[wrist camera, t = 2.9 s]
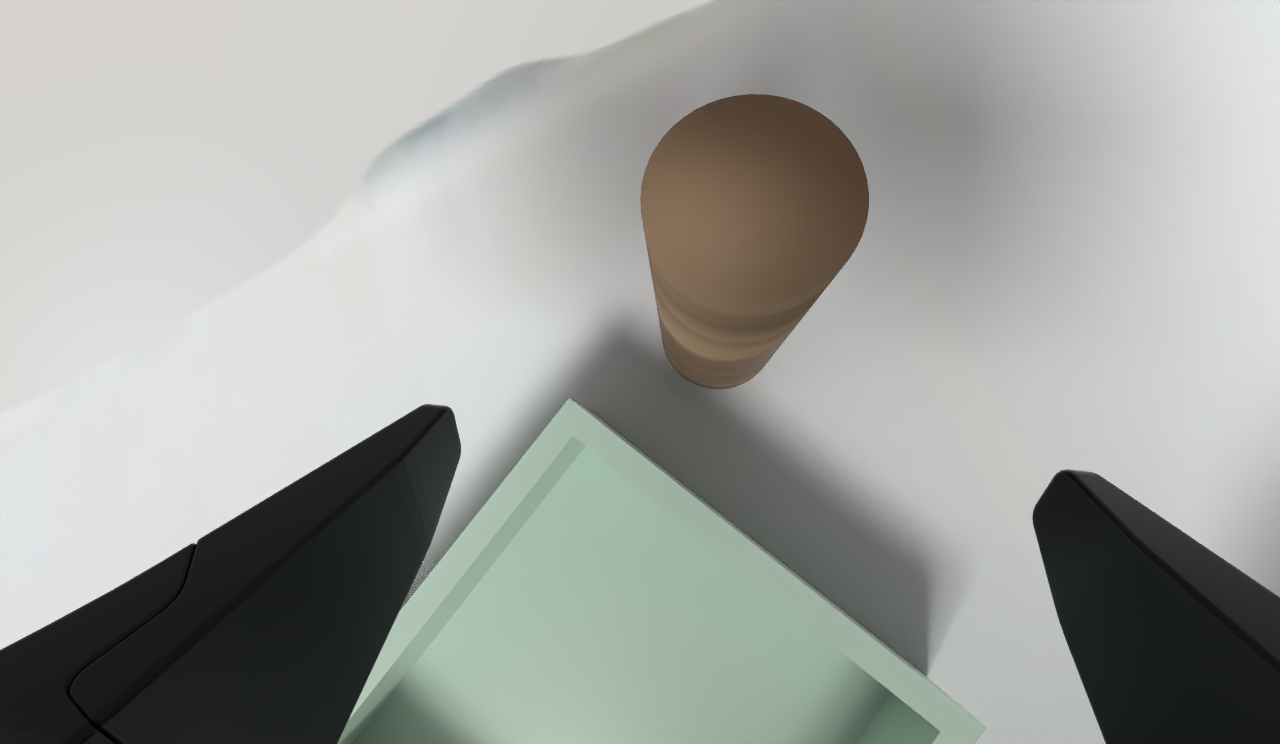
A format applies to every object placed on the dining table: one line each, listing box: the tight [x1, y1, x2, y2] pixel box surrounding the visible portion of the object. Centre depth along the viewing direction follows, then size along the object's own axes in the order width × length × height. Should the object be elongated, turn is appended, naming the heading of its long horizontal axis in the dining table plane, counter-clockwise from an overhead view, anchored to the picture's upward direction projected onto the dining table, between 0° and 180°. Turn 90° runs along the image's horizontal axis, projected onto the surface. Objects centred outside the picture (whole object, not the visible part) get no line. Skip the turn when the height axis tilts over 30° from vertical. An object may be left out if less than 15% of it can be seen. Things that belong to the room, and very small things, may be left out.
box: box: [338, 398, 985, 744], centre depth 17 cm, size 14×14×4 cm
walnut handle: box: [641, 94, 869, 389], centre depth 15 cm, size 4×4×10 cm
